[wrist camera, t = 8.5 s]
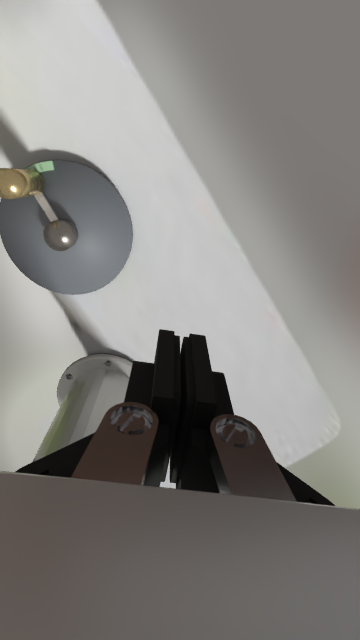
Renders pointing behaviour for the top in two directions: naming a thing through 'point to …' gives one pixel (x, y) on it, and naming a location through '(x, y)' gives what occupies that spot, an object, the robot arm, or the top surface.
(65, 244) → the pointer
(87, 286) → the dial plate
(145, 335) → the top surface
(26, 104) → the top surface
